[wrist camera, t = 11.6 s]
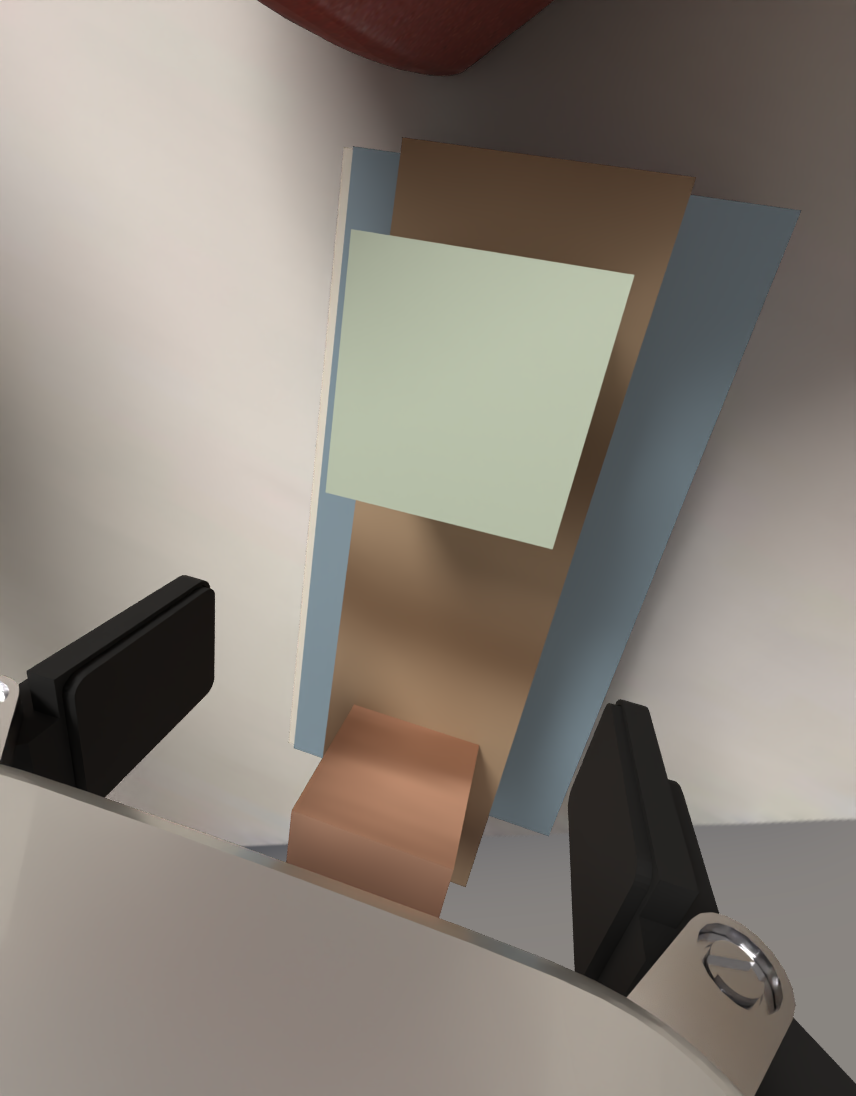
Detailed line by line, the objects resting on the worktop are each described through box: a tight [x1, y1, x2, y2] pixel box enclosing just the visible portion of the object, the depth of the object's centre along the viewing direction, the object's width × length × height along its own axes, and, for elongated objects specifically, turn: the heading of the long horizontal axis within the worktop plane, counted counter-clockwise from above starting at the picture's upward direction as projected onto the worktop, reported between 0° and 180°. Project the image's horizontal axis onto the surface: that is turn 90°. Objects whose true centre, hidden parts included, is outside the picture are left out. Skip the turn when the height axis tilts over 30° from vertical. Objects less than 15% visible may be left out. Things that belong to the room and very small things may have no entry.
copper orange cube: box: [286, 705, 479, 918], centre depth 16 cm, size 4×4×4 cm
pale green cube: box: [326, 229, 634, 549], centre depth 11 cm, size 4×4×4 cm
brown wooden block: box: [323, 137, 696, 887], centre depth 17 cm, size 23×6×4 cm, turn 169°
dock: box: [288, 146, 801, 836], centre depth 21 cm, size 25×13×4 cm, turn 169°
